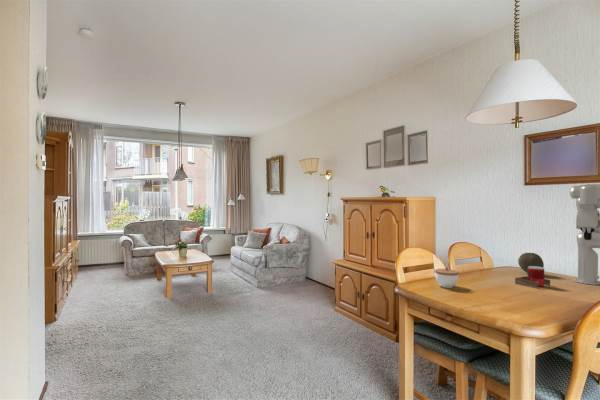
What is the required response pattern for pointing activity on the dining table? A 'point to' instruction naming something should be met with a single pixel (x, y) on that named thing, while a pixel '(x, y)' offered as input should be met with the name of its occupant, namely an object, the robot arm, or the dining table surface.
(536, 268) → the canned food
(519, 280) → the corral
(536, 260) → the cantaloupe
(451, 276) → the lidded bowl
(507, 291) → the dining table surface
